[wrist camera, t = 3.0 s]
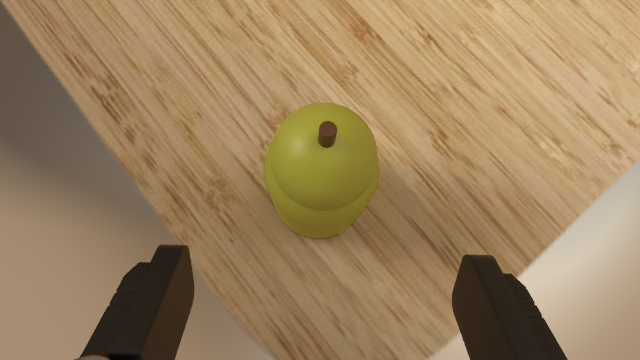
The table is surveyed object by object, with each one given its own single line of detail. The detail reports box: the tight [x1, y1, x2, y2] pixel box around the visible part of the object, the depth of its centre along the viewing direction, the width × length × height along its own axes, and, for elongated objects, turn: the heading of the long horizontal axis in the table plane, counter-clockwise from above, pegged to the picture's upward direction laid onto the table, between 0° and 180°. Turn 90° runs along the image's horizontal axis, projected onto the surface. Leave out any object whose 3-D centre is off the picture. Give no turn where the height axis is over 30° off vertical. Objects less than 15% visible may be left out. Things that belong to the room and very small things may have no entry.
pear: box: [264, 103, 379, 239], centre depth 18 cm, size 5×5×10 cm
